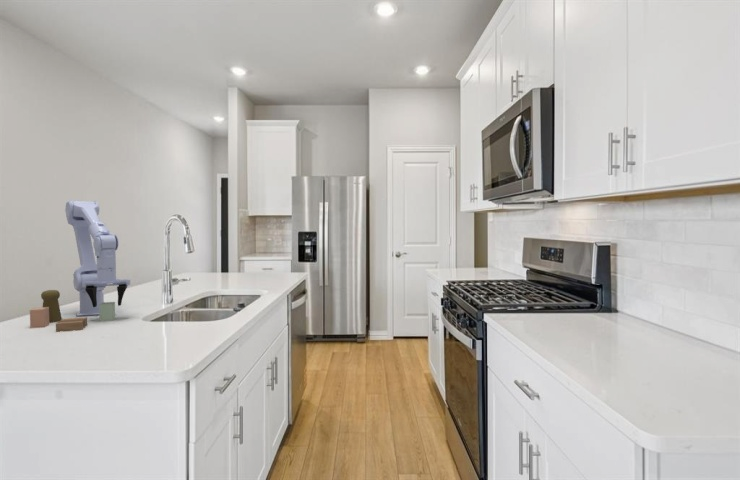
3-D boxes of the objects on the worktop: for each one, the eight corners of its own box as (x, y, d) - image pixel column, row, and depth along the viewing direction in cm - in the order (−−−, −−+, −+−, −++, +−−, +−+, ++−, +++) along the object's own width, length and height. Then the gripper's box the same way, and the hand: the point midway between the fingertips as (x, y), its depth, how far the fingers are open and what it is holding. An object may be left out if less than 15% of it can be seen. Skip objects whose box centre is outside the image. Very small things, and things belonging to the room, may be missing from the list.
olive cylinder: (52, 323, 142) (52, 291, 141) (35, 323, 142) (34, 291, 142) (66, 319, 148) (65, 289, 148) (49, 318, 148) (48, 288, 148)
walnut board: (62, 327, 137) (62, 318, 137) (87, 325, 140) (87, 317, 140) (55, 333, 131) (55, 323, 131) (81, 331, 134) (81, 321, 134)
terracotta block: (35, 325, 139) (34, 307, 139) (49, 324, 141) (48, 307, 140) (30, 328, 136) (29, 310, 135) (45, 327, 137) (44, 309, 137)
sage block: (102, 318, 149) (102, 302, 149) (115, 318, 150) (114, 301, 150) (99, 321, 145) (99, 304, 145) (112, 320, 147) (112, 303, 146)
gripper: (79, 270, 141) (80, 309, 141) (127, 268, 146) (128, 306, 146) (85, 268, 147) (86, 305, 148) (131, 266, 152) (131, 302, 153)
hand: (107, 305), depth 147 cm, fingers open, 7 cm apart
